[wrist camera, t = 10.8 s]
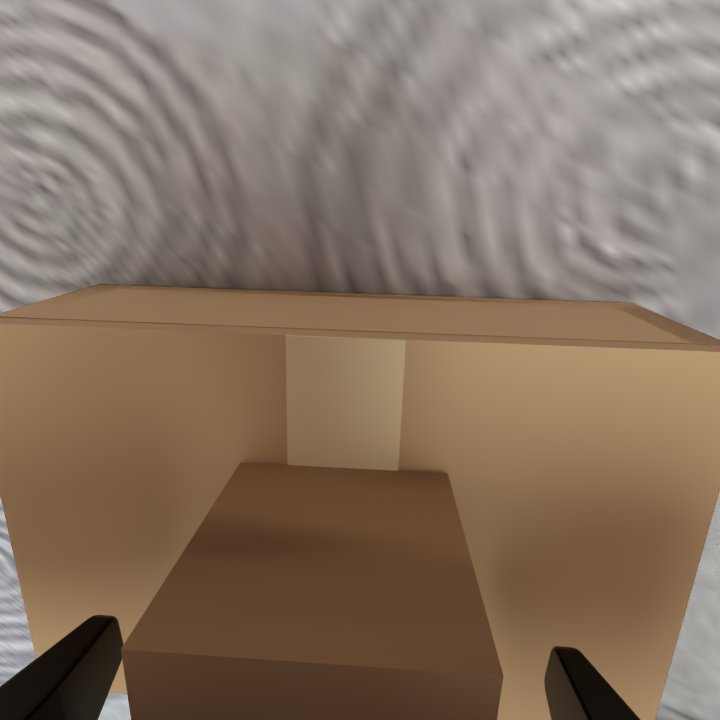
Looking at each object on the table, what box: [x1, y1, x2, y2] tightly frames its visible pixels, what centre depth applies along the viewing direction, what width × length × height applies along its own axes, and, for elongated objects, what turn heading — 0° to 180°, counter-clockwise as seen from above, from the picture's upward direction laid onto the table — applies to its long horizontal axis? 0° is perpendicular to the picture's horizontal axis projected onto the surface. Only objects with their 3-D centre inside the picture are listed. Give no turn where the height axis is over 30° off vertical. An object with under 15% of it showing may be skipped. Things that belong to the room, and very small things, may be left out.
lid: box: [0, 318, 720, 720], centre depth 10 cm, size 10×16×1 cm, turn 89°
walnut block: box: [121, 463, 504, 720], centre depth 8 cm, size 4×4×4 cm
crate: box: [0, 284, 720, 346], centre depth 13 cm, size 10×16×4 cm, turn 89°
